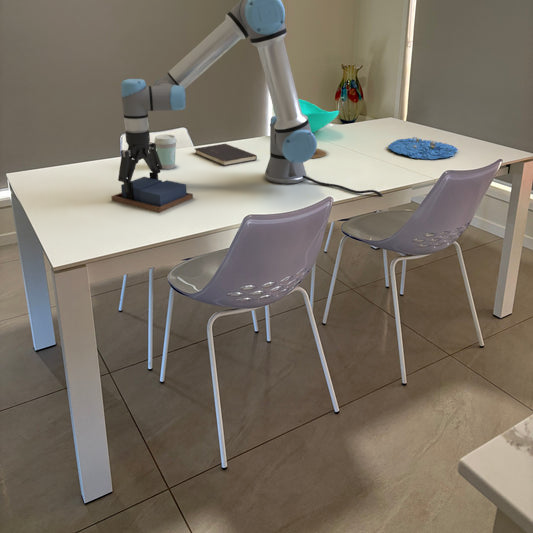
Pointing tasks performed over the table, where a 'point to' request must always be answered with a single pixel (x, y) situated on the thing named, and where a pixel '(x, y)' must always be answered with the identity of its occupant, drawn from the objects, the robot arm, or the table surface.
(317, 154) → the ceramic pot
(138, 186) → the pad
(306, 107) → the table top decor
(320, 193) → the table surface
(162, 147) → the coffee cup
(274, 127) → the robot arm
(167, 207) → the brown tray
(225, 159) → the hardcover book
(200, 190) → the table surface
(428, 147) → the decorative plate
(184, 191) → the pad
